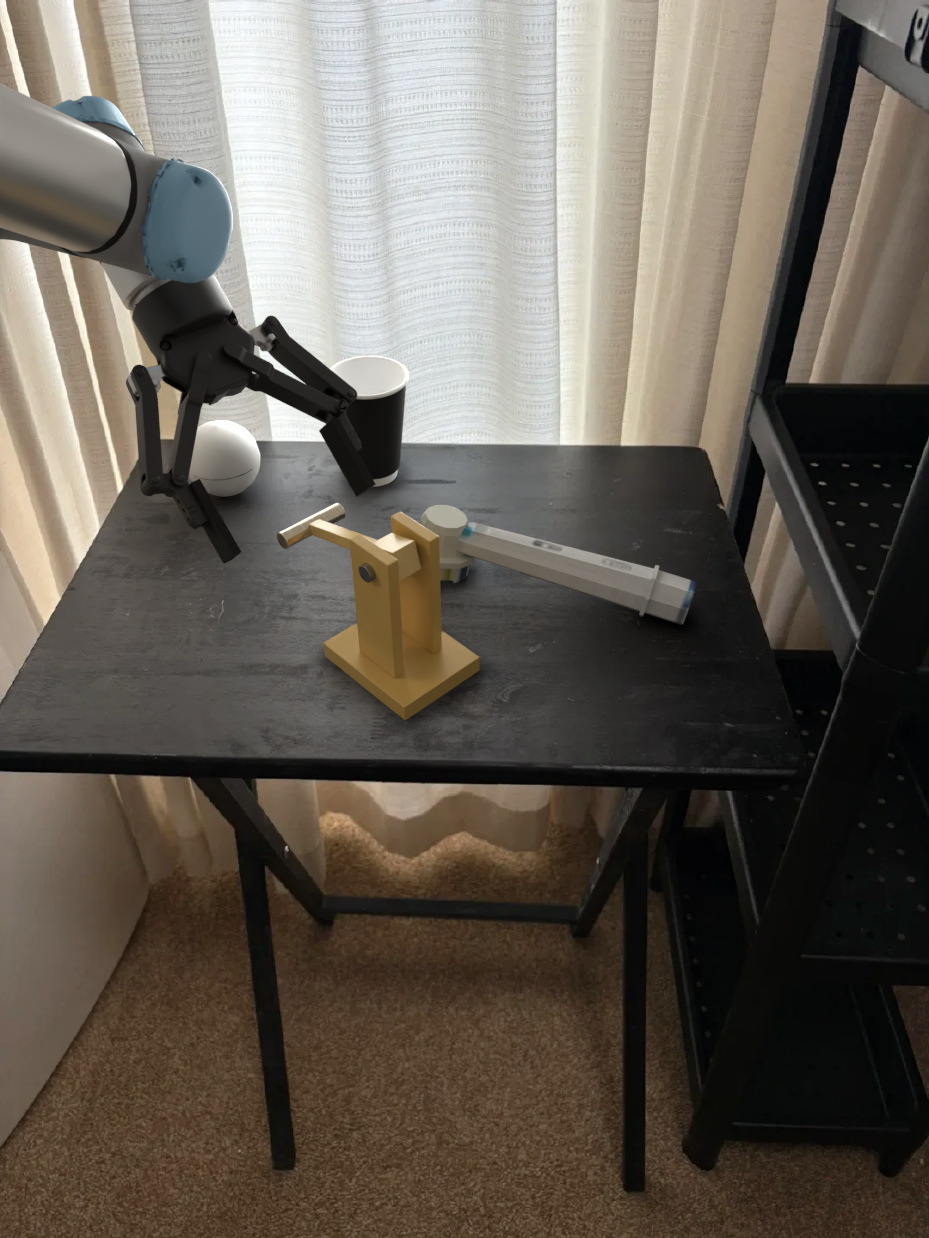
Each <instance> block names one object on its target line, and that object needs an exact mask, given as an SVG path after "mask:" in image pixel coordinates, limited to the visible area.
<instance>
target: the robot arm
mask: <svg viewBox="0 0 929 1238" xmlns="http://www.w3.org/2000/svg"><path fill="white" fill-rule="evenodd" d="M233 231H234V214H233V208H232V202H231V199H230V196H229V194H228V191H227V190H226V188H225V185H224V184H223V183H222V181H221V180H220V179H219V178H218V177H217V175H215V174H214V173H212V171H210V170H208V169H206V168H204V167H201V166H197V165H194V164H190V163H187V162H185V161H184V160H182V159H180V158H176V157H172V158H170V159H169V158H164V157H160V156H157V155H154V154H151V153H148V152H146V148H145V146H144V144H143V143H142V140H141V139H140V138H139V137H138V135H137V134H135V131H133V129H132V127H131V126H130V125H129V122H128V121H127V119H125V117H124V115H123V113H122V112H121V111H120V109H119V108H118V106H117V105H115V104H114V103H112V101H110V100H108V99H106V98H104V97H101V96H97V95H83V96H81V97H79V98H78V99H75V100H73V99H70V98H69V99H67V100H64V101H62V102H60V103H58V104H56V105H54V106H53V107H51V106H49V105H48V104H45V103H43V102H41V101H39V100H36V99H34V98H32V97H30V96H28V95H26V94H25V93H22V92H20V91H18V90H16V89H13V88H12V87H10V86H7V85H5V84H4V83H1V82H0V240H7V241H14V242H19V243H24V244H28V245H31V246H35V247H38V248H43V249H46V250H51V251H54V252H58V253H62V254H66V255H70V256H74V257H79V258H83V259H89V260H92V261H96V262H98V263H99V264H100V265H101V267H102V269H103V271H104V273H105V274H106V276H107V279H109V282H110V283H111V285H112V287H113V288H114V290H115V292H116V294H117V296H118V297H119V299H120V300H121V303H122V304H123V307H124V308H125V309H126V310H128V311H131V312H132V315H131V319H132V322H133V324H134V325H135V327H136V328H137V330H138V332H139V334H140V335H141V337H142V339H143V340H144V342H145V344H146V346H147V348H148V349H149V351H150V353H151V354H152V355H153V357H154V359H156V365H151V366H147V367H146V366H144V365H143V364H135V365H134V366H133V367H132V369H131V371H130V372H129V374H128V376H127V378H126V380H125V385H126V388H127V391H128V392H129V394H130V397H131V399H132V401H133V403H134V409H135V425H136V441H137V453H138V454H137V457H138V471H139V472H138V473H139V486H140V492H141V493H142V495H144V496H146V497H153V496H154V495H164V496H165V497H168V498H172V500H174V502H175V504H176V506H177V507H178V510H179V511H180V513H181V514H182V516H183V518H184V519H185V521H186V524H187V525H188V526H189V527H190V528H191V529H192V530H194V531H196V530H197V529H199V528H201V527H202V529H203V532H205V534H206V536H207V538H208V539H209V541H210V543H211V545H212V547H213V548H214V551H215V552H216V554H217V555H218V557H219V559H220V560H221V562H222V564H223V565H225V564H227V563H229V562H231V561H233V560H234V559H235V558H236V557H238V555H240V554H241V553H242V550H241V548H240V546H239V544H238V543H237V541H236V539H235V537H234V536H233V534H232V533H231V531H230V528H229V527H228V525H227V524H226V522H225V520H224V518H223V517H222V515H221V513H220V511H219V510H218V508H217V507H216V505H215V503H214V502H213V501H214V500H212V497H211V495H210V494H209V493H208V492H207V491H206V489H205V487H204V485H203V484H202V482H201V480H200V479H198V480H196V481H193V482H192V481H191V482H189V471H190V466H191V460H192V455H193V450H194V444H195V439H196V433H197V428H198V427H199V421H200V418H201V417H200V416H201V412H202V408H203V405H204V404H207V405H208V406H212V405H214V404H217V403H219V401H221V400H222V399H223V398H226V397H233V396H236V395H239V394H241V393H242V392H243V391H244V390H245V389H248V390H251V391H253V392H261V393H263V394H264V395H267V396H269V397H271V398H272V399H275V400H277V401H279V402H281V403H283V404H285V405H287V406H289V407H291V408H293V409H296V410H297V411H299V412H302V413H304V414H305V415H307V416H309V417H312V418H314V419H316V420H318V422H319V421H320V422H322V423H323V424H324V425H323V426H322V427H321V428H320V429H319V430H318V432H319V433H320V435H321V437H322V439H323V441H324V443H325V445H326V446H327V448H328V450H329V451H330V453H331V455H332V457H333V458H334V461H335V462H336V464H337V466H338V467H339V469H340V471H341V473H342V474H343V476H344V478H345V480H346V482H347V484H348V485H349V487H350V488H351V490H352V492H353V494H354V496H355V498H357V497H360V496H361V495H363V494H364V493H365V492H368V491H369V490H371V489H372V488H374V487H373V486H374V485H375V482H374V480H373V479H372V477H371V475H370V473H369V471H368V470H367V468H366V466H365V464H364V462H363V461H362V459H361V457H360V455H359V454H358V452H357V451H358V450H359V449H361V448H362V447H361V441H360V440H359V438H358V436H357V434H356V432H355V431H354V429H353V427H352V425H351V424H350V422H349V420H348V418H347V416H346V410H347V409H348V407H349V406H350V405H351V403H352V402H353V401H354V400H355V399H356V398H357V392H356V390H355V389H354V388H353V387H351V386H350V385H349V384H348V383H346V382H345V381H344V380H343V379H342V378H340V377H339V376H338V375H337V374H335V373H334V372H333V371H332V370H330V367H328V366H327V365H326V364H325V363H323V362H322V361H320V360H319V359H318V358H317V357H316V356H314V355H313V354H312V353H311V352H310V351H308V350H307V349H306V348H305V347H303V346H302V345H301V344H300V343H299V342H297V341H296V340H295V339H293V338H292V336H290V334H289V333H288V332H287V331H286V329H285V328H284V326H283V325H282V323H281V322H280V320H279V319H278V317H276V316H274V315H268V316H266V317H265V319H264V320H263V322H262V323H260V324H258V325H257V326H255V327H253V328H251V329H250V330H248V329H246V328H245V327H243V325H242V324H241V323H240V322H239V320H238V317H237V316H236V315H237V314H236V313H235V309H234V307H233V306H232V304H231V302H230V300H229V299H228V297H227V294H226V293H225V291H224V289H223V287H222V286H221V284H220V282H219V281H218V279H217V277H216V276H215V275H214V274H215V273H216V272H217V270H219V268H220V267H221V266H222V264H223V263H224V262H225V259H226V257H227V254H228V252H229V249H230V242H231V236H232V233H233ZM255 346H256V347H258V348H259V349H260V351H261V352H267V353H268V354H269V355H270V356H271V357H272V359H274V360H275V361H276V362H277V363H279V364H280V365H281V366H282V367H283V368H285V369H286V370H287V371H288V372H290V373H291V374H292V375H294V376H295V377H296V378H297V379H296V378H294V377H293V376H291V375H288V374H287V373H284V372H283V371H281V370H279V369H276V368H275V366H274V364H273V363H271V362H270V361H268V360H266V359H264V358H262V357H260V356H258V355H256V354H255ZM161 382H163V383H164V384H166V385H168V386H170V387H171V388H172V389H175V390H176V391H179V392H180V399H179V403H178V409H177V420H176V426H175V429H174V430H175V431H174V435H173V441H172V446H171V452H170V457H169V462H168V467H167V472H166V473H164V467H163V454H162V453H163V452H162V439H161V438H162V437H161V424H160V423H161V421H160V410H159V397H158V393H159V392H160V390H161V387H162V386H161V384H162V383H161Z"/></svg>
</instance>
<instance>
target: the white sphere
mask: <svg viewBox="0 0 929 1238" xmlns="http://www.w3.org/2000/svg"><path fill="white" fill-rule="evenodd" d="M260 467H261V452H260V449H259V446H258V443H257V440H256V439H255V437H254V436H253V435H252V434H251V433H250V431H248V430H247V428H245V427H244V426H242V425H240V424H238V423H236V422H234V421H232V420H227V419H220V420H219V419H217V420H210V421H208V422H205V423H202V424H201V425H198V428H197V433H196V439H195V444H194V450H193V455H192V460H191V466H190V471H189V477H188V479H189V480H190V481H191V482H193V481H196V480H198V479H200V480H201V482H202V484H203V485H204V487H205V489H206V491H207V492H208V494H209V495H211V496H214V497H223V498H224V497H225V498H226V497H232V496H236V495H238V494H240V493H242V492H244V491H245V490H246V489H248V488H249V487H250V486H252V484H253V483H254V481H255V480H256V479H257V476H258V474H259V471H260Z"/></svg>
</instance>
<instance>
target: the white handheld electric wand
mask: <svg viewBox="0 0 929 1238" xmlns="http://www.w3.org/2000/svg"><path fill="white" fill-rule="evenodd" d="M418 523H419V524H421V525H422V526H424V527H425V528H427V529H428V530H430V531H432V532H433V533H435V534H436V535H438V536H439V546H440V581H451V582H452V583H453V584H456V583H458V582H460V581H463V580H465V579H466V578H467V576H468V575H469V572H470V571H471V565H473V564H474V561H475V560H476V559H478V560H480V561H484V562H487V563H490V564H492V565H495V566H499V567H502V568H504V569H505V568H506V569H509V570H512V571H515V572H518V573H520V574H524V575H526V576H530V577H533V578H535V579H538V580H541V581H545V582H548V583H550V584H553V585H554V584H555V585H557V586H560V587H564V588H566V589H569V590H572V591H575V592H579V593H582V594H585V595H588V596H591V597H593V598H596V599H600V600H602V601H606V602H609V603H612V604H615V605H618V606H622V607H624V608H627V609H631V610H634V611H637V612H639V614H638V616H639V617H644V614H646V615H649V616H652V617H655V618H659V619H662V620H665V621H668V622H671V623H674V624H677V625H681V626H682V625H684V623H685V620H686V617H687V615H688V612H689V610H690V606H691V603H692V600H693V597H694V594H695V590H696V586H697V581H695V580H692V579H689V578H686V577H682V576H680V575H676V574H672V573H670V572H666V571H663V570H660V565H658V564H655V566H654V568H653V567H650V566H645V565H642V564H638V563H634V562H631V561H630V562H629V561H625V560H622V559H619V558H614V557H611V556H607V555H603V554H598V553H594V552H591V551H587V550H582V549H579V548H575V547H571V546H567V545H563V544H560V543H555V542H552V541H548V540H545V539H544V540H543V539H540V538H536V537H532V536H528V535H524V534H520V533H518V532H517V533H516V532H513V531H508V530H505V529H502V528H501V529H500V528H497V527H493V526H488V525H486V524H481V523H477V522H474V521H469V520H468V517H467V514H466V513H465V512H463V511H462V510H460V509H459V508H458V507H454V506H452V505H448V504H435V505H432V506H429V507H428V508H427V509H426V510H425V511H424V512H423V513H422V515H421V517H420V520H419V522H418Z"/></svg>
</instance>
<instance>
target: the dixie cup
mask: <svg viewBox="0 0 929 1238" xmlns="http://www.w3.org/2000/svg"><path fill="white" fill-rule="evenodd" d="M329 369H330V370H332V371H333V372H334V373H335V374H337V375H338V376H339V377H340V378H342V379H343V380H344V381H345V382H346V383H348V384H349V385H350V386H351V387H353V388H354V389H355V390H356V392H357V398H356V399H355V400H354V401H353V402H352V403H351V405H350V406H349V407H348V409H347V410H346V416H347V418H348V420H349V422H350V424H351V425H352V427H353V429H354V431H355V432H356V434H357V436H358V438H359V440H360V441H361V447H362V448H361V449H359V450H358V451H357V452H358V454H359V455H360V457H361V459H362V461H363V462H364V464H365V466H366V468H367V470H368V471H369V473H370V475H371V477H372V479H373V480H374V482H375V485H374V486H373V487H372V488H377V487H381V486H385V485H386V486H387V485H388V484H390V483H392V482H393V481H394V480H396V478H397V476H398V470H399V468H400V467H401V457H402V445H403V444H402V443H403V432H404V431H403V430H404V418H405V417H404V416H405V406H406V405H405V402H406V390H407V384H408V383H409V381H410V373H409V370H408V368H407V367H406V366H405V365H404V364H403V363H401V362H399V361H397V360H395V359H393V358H389V357H385V356H379V355H362V356H361V355H359V356H354V357H349V358H346V359H344V360H341V361H339V362H336V363H335V364H334V365H332V366H331V367H329Z"/></svg>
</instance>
